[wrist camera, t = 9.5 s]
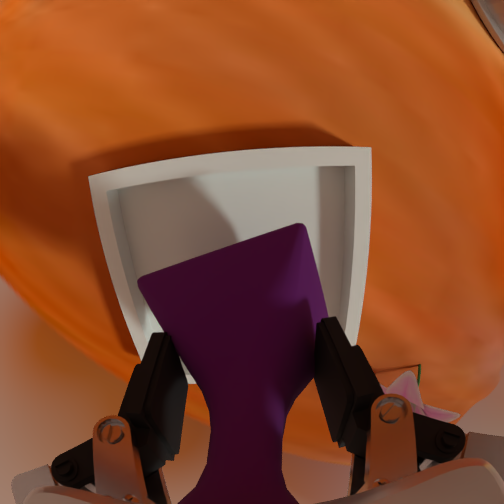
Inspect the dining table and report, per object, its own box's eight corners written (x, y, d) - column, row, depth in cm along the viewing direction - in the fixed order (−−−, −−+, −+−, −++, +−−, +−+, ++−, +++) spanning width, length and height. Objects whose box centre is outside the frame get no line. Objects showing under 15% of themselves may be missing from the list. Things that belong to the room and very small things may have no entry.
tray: (353, 146, 15) (370, 147, 13) (342, 345, 20) (351, 364, 18) (106, 171, 14) (88, 176, 12) (157, 363, 20) (151, 383, 18)
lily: (393, 307, 21) (383, 408, 13) (481, 346, 18) (488, 432, 11) (337, 372, 28) (313, 446, 21) (415, 399, 26) (404, 468, 19)
